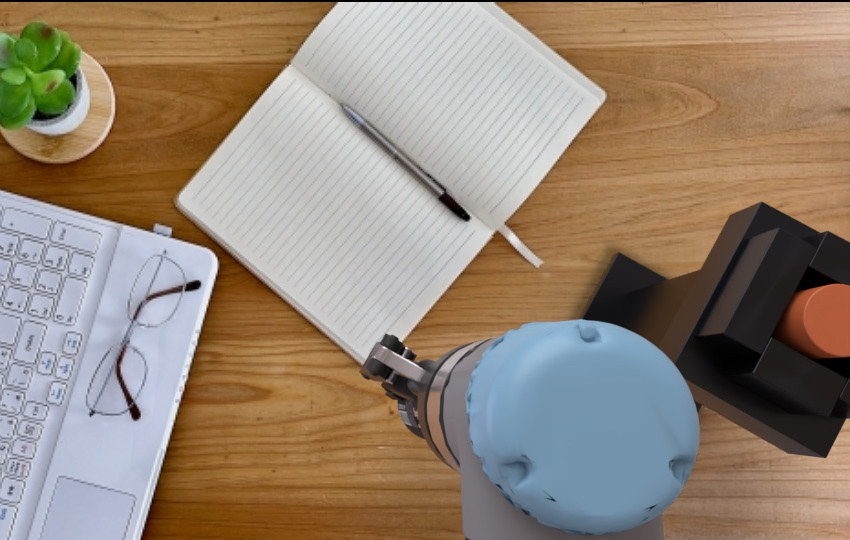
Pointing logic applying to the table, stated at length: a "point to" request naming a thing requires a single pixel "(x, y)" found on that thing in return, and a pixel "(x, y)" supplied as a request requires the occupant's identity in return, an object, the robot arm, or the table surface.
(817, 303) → the button
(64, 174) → the table surface
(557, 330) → the robot arm
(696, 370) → the button post
